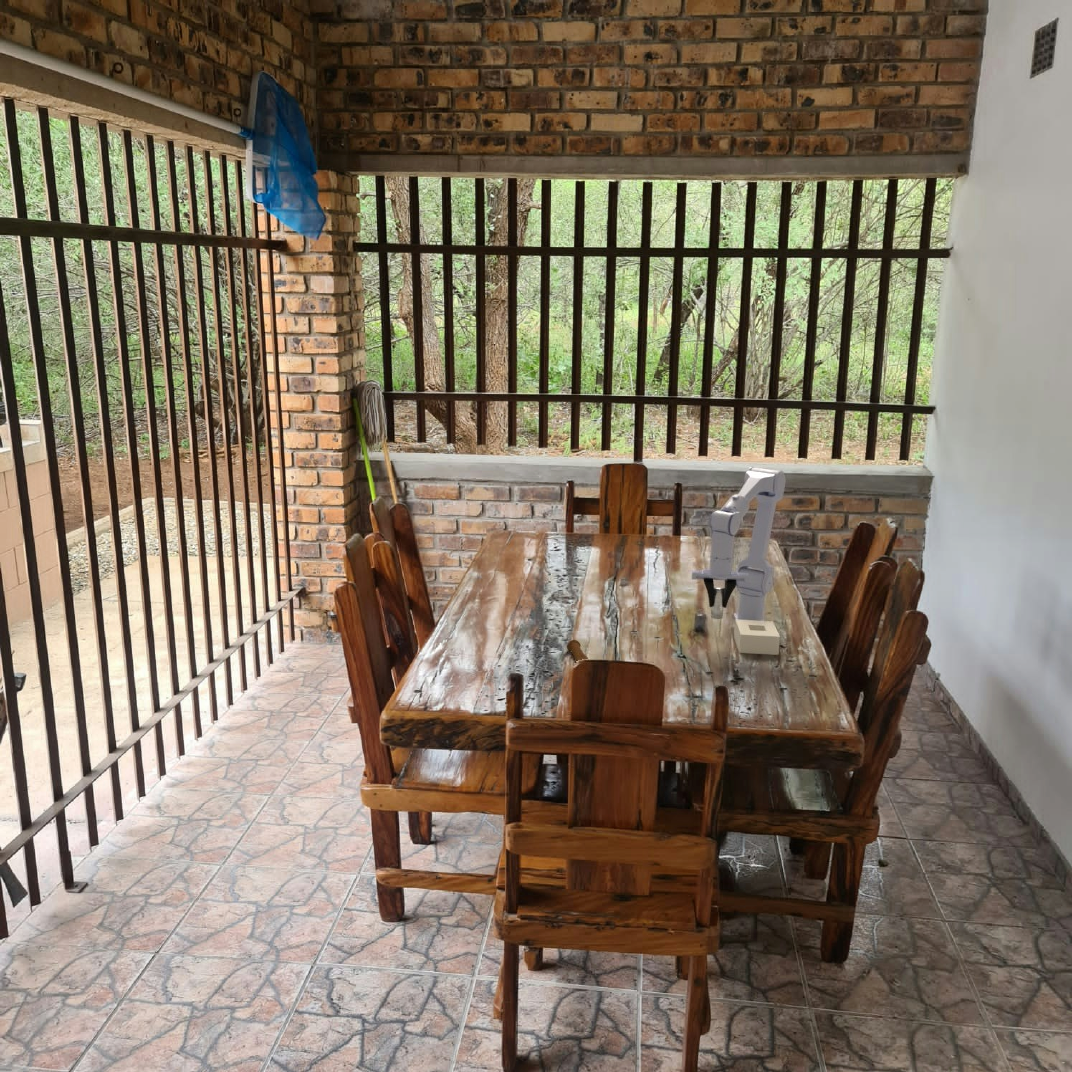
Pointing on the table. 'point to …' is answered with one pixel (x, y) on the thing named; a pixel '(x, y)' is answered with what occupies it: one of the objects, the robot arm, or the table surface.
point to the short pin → (699, 622)
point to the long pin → (718, 603)
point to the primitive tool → (576, 650)
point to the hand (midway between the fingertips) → (717, 606)
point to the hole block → (756, 637)
